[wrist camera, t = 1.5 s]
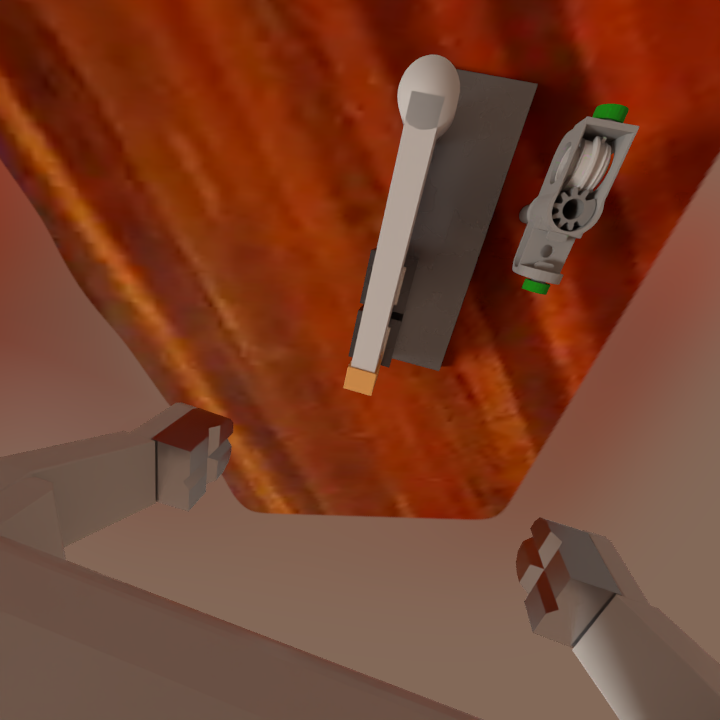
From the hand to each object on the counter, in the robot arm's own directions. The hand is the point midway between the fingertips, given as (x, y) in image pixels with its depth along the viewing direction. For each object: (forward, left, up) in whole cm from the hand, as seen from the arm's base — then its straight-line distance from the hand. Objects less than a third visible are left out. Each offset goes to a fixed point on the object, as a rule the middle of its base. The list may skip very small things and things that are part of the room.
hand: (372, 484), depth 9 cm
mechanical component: (-9, +7, -27) cm, 29 cm away
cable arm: (-4, -3, -21) cm, 21 cm away
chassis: (-5, 0, -27) cm, 27 cm away
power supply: (-1, -2, -25) cm, 26 cm away
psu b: (+4, -2, -25) cm, 26 cm away
